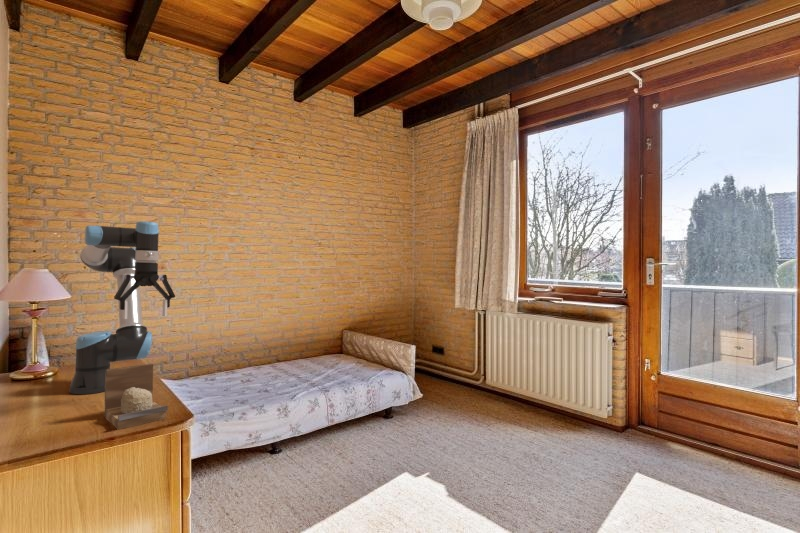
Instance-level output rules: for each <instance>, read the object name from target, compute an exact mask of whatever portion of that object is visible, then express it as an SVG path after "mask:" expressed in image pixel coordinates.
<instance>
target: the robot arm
mask: <svg viewBox="0 0 800 533" xmlns="http://www.w3.org/2000/svg"><path fill="white" fill-rule="evenodd" d="M159 234H160V230H159V223H157V222H154V221H153V222H152V221H142V220H141V221H137V222H136V223H135V227H122V226H120V227H119V226H109V225H108V226H105V225H99V224H98V225H86V226H85V230H84V243H85V244H86V246H85V247H83V248H82V249H81V252H80V261H81V262H82V264H84V266H86V267H87V268H88V269H91V270H93V271H97V272H100V273H112V277H113V278H115V279H116V283H117V291H116V292H115V295H114V297H113V299H114V300H116V301H118V318H119V322H118V323H119V327H117V329H116V330H115V333H113V334H112V332H111V330H104V331H95V332H90V333H84V334H82V335H79V336H78V337H77V338H76V343H75V348H74V349H75V369H74V375H73V377H72V380H71V382H70V385H69V388H68V389H69V391H68V392H69V393H70V394H72V395H89V394H90V395H91V394H97V393H101V392H102V393H103V392H105V370H107V369H111V363H114V362H116V363H117V362H122V361H123V362H124V361H132V360H134V361H135V360H141V359H146V358H147V357H148V356H149V355H150V352H151V349H152V343H153V342H152V341H153V334H152V331H150V330H148V328H147V326H146V325H144V324H143V314H142V313H143V312H142V300H141V288H140V287H154V288H155V290H157V292H158V293H159V294H161V296H162V297H163V299H162V317H168V308H170V307H171V300H172V299H174V298H175V297H176V294H175V292H174V291H173V289H172V287H171V285H170V283H169V280H168V276H167V275H166V274H161V275H160V274H158V273H159V271H158V270H159V269H158V268H159V263H158V261H159V237H160V236H159ZM158 280H160V281H161V282H162V284H163V285H164V288H165V289H166V291H167V292H166V291H165V289H164V288H163V287H162V286H161V285H160V284H159V283H158Z"/></svg>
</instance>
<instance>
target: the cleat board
mask: <svg viewBox="0 0 800 533" xmlns="http://www.w3.org/2000/svg"><path fill="white" fill-rule="evenodd" d="M153 379H154V363H146V364H145V363H143V364H138V365H131V366H122V367H115V368H110V369H107V370H105V391H104V415H103V417H104V418H105V420H107V421H108V422H109V423H110V424H111V425H112V426H114V428H115V429H116V430H117V431H118V430H122V429H127V428H131V427H136V426H140V425H144V424H149V423H153V422H157V421H161V420H166V419H167V413H168V412H167V411H168V410H169V406H168V405H167V404H166V405H160V404H159V403H157V402H155V401H154V400H153V398H154V397H153V389H154V388H153V386H154V380H153ZM132 387H135V388H141V389H145V390H147V391H150V393H151V394H152V404H153V405H152V408H151V409H146V410H141V411H137V412H132V413H127V414H124V413H122V412H121V399H122V396H123V393H124V391H125V390H127V389H130V388H132Z"/></svg>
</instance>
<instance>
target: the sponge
mask: <svg viewBox="0 0 800 533" xmlns="http://www.w3.org/2000/svg"><path fill="white" fill-rule="evenodd" d="M152 400H153V398H152V394H151V393H150V391H147V390H145V389H141V388H135V387H132V388H130V389H127V390H125V391H124V393H123V396H122V399H121V412H122V413H124V414H127V413H132V412H137V411H141V410H146V409H151V408H152V405H153V404H152Z"/></svg>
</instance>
